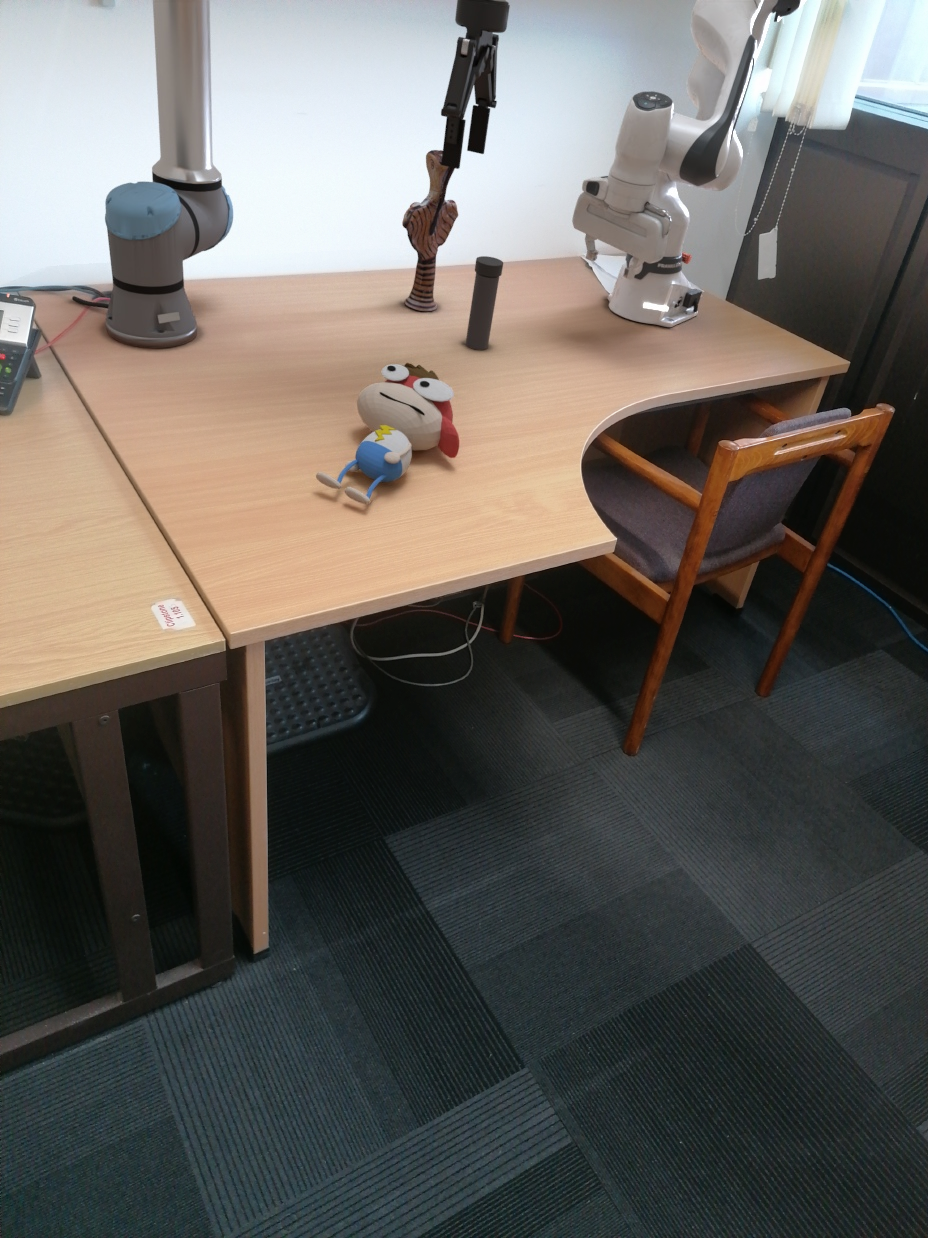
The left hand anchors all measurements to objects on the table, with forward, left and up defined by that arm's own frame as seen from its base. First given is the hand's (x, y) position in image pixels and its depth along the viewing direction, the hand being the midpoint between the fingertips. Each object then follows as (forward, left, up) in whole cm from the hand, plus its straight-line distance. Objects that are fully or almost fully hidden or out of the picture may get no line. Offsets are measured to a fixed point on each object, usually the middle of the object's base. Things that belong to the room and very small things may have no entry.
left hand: (463, 159), depth 139 cm
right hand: (+23, +32, -20) cm, 44 cm away
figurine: (-13, +31, -36) cm, 49 cm away
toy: (+4, -34, -36) cm, 50 cm away
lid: (+3, +18, -20) cm, 27 cm away
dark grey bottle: (+3, +18, -36) cm, 40 cm away
